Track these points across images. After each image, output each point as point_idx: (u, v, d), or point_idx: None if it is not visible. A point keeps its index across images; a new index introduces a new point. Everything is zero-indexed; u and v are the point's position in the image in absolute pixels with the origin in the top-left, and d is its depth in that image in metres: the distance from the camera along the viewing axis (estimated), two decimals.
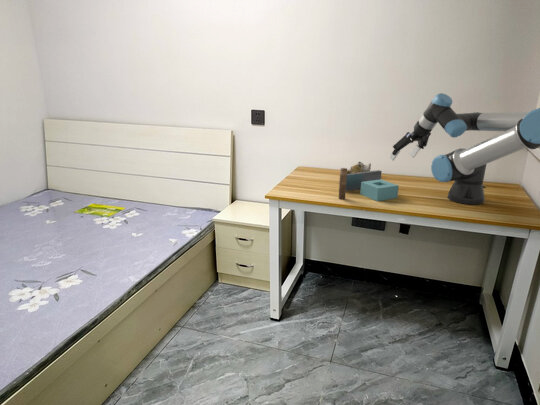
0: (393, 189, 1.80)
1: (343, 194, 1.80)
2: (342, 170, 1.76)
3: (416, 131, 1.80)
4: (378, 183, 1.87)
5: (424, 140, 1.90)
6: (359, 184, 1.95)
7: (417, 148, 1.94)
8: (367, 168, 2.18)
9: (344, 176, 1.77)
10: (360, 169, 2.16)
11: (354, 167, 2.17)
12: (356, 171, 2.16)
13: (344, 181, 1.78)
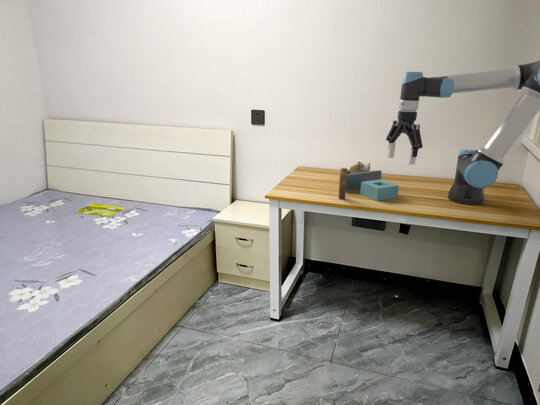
0: (393, 189, 1.80)
1: (343, 194, 1.80)
2: (342, 170, 1.76)
3: (414, 119, 1.62)
4: (378, 183, 1.87)
5: (393, 133, 1.74)
6: (359, 184, 1.95)
7: (393, 145, 1.74)
8: (367, 168, 2.18)
9: (344, 176, 1.77)
10: (360, 169, 2.16)
11: (354, 167, 2.17)
12: (356, 171, 2.16)
13: (344, 181, 1.78)
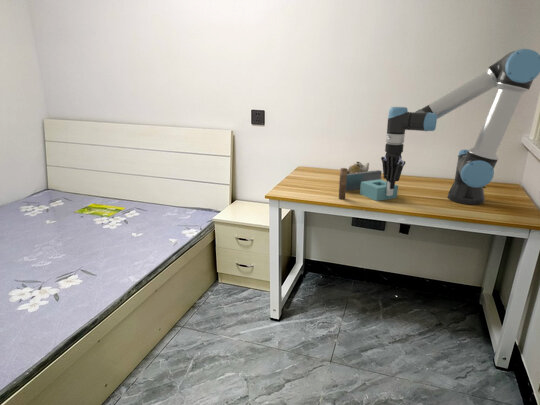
0: None
1: (343, 194, 1.80)
2: (342, 170, 1.76)
3: None
4: (378, 183, 1.87)
5: None
6: (359, 184, 1.95)
7: None
8: (365, 168, 2.18)
9: (344, 176, 1.77)
10: (359, 169, 2.17)
11: (353, 167, 2.17)
12: (355, 171, 2.16)
13: (344, 181, 1.78)
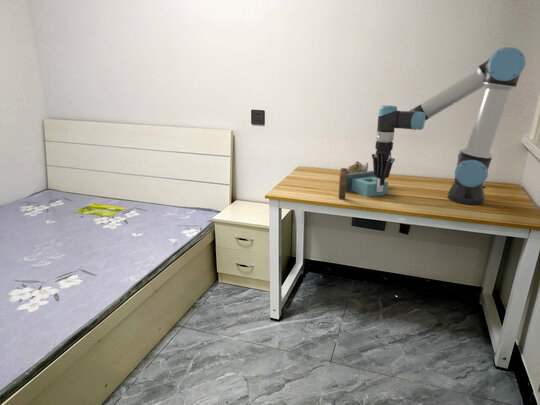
0: (383, 186, 1.86)
1: (343, 194, 1.80)
2: (342, 170, 1.76)
3: None
4: (369, 180, 1.93)
5: None
6: None
7: None
8: (365, 168, 2.19)
9: (344, 176, 1.77)
10: (358, 169, 2.17)
11: (352, 167, 2.17)
12: (354, 171, 2.17)
13: (344, 181, 1.78)
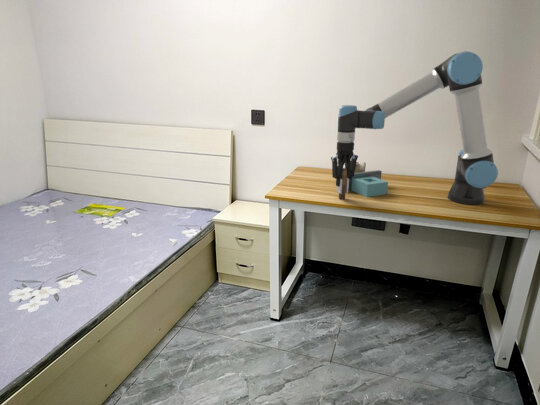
0: (383, 185, 1.86)
1: (343, 194, 1.80)
2: (342, 170, 1.76)
3: None
4: (369, 180, 1.93)
5: None
6: None
7: None
8: (363, 167, 2.19)
9: (344, 176, 1.77)
10: (356, 169, 2.17)
11: None
12: None
13: (344, 181, 1.78)
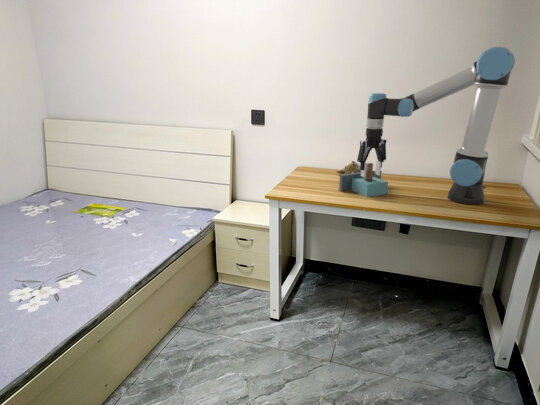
0: (383, 185, 1.86)
1: None
2: (368, 165, 1.86)
3: None
4: None
5: None
6: None
7: None
8: None
9: (370, 171, 1.87)
10: (355, 168, 2.18)
11: (349, 166, 2.18)
12: (351, 170, 2.17)
13: (370, 175, 1.88)
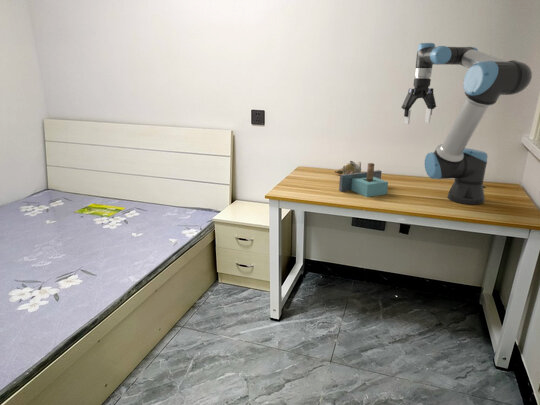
0: (383, 185, 1.86)
1: None
2: (369, 165, 1.86)
3: None
4: None
5: None
6: None
7: None
8: (359, 167, 2.21)
9: (371, 171, 1.87)
10: (353, 168, 2.18)
11: (347, 166, 2.18)
12: (350, 170, 2.18)
13: (371, 175, 1.88)
